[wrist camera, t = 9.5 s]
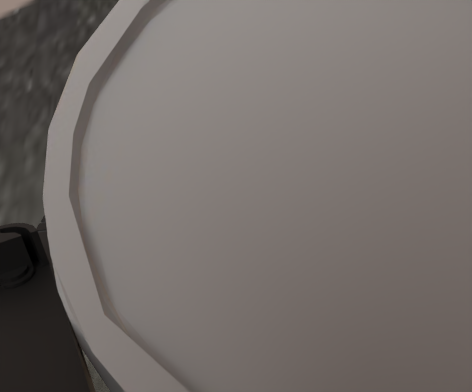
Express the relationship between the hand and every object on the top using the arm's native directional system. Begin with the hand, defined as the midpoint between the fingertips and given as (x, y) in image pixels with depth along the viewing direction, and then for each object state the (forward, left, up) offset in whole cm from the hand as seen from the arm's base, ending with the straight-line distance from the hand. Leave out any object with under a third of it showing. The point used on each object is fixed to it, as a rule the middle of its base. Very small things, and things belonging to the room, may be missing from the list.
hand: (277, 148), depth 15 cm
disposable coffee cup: (0, +3, -4) cm, 5 cm away
